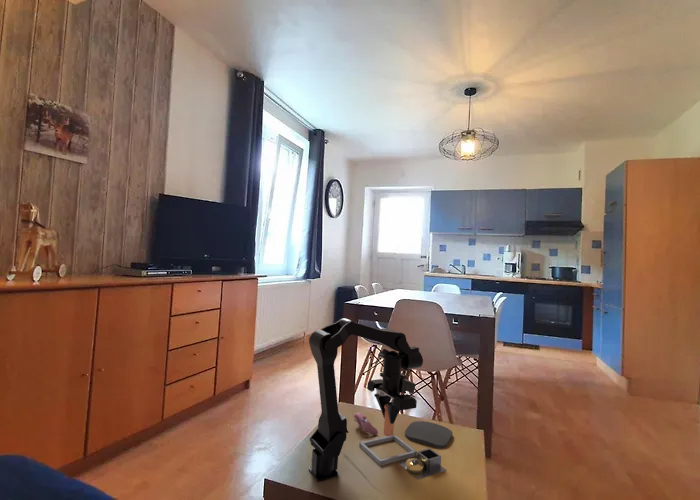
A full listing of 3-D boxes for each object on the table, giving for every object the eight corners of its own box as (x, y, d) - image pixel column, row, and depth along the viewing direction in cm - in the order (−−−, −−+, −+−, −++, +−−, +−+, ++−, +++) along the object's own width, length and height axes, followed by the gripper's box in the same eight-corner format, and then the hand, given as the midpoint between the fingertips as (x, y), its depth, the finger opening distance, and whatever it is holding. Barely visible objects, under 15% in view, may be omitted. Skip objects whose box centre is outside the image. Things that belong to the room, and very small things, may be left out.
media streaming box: (401, 441, 122) (401, 432, 123) (414, 425, 135) (414, 417, 135) (444, 455, 116) (445, 445, 116) (454, 436, 129) (454, 427, 129)
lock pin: (387, 437, 111) (388, 408, 111) (380, 432, 114) (382, 404, 114) (396, 435, 113) (398, 407, 113) (389, 430, 116) (391, 402, 116)
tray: (379, 469, 105) (380, 461, 105) (359, 449, 115) (359, 442, 115) (416, 458, 112) (416, 451, 112) (393, 441, 122) (394, 434, 122)
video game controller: (356, 429, 132) (349, 412, 131) (367, 421, 134) (360, 405, 133) (368, 442, 123) (361, 424, 122) (379, 434, 125) (372, 417, 124)
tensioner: (417, 483, 99) (418, 468, 100) (397, 465, 107) (398, 452, 107) (446, 473, 105) (447, 459, 105) (425, 457, 113) (426, 444, 113)
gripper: (432, 377, 110) (429, 429, 109) (395, 360, 126) (392, 406, 126) (402, 381, 104) (399, 436, 104) (368, 363, 121) (365, 410, 120)
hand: (389, 421), depth 114 cm, fingers closed on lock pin, 3 cm apart
